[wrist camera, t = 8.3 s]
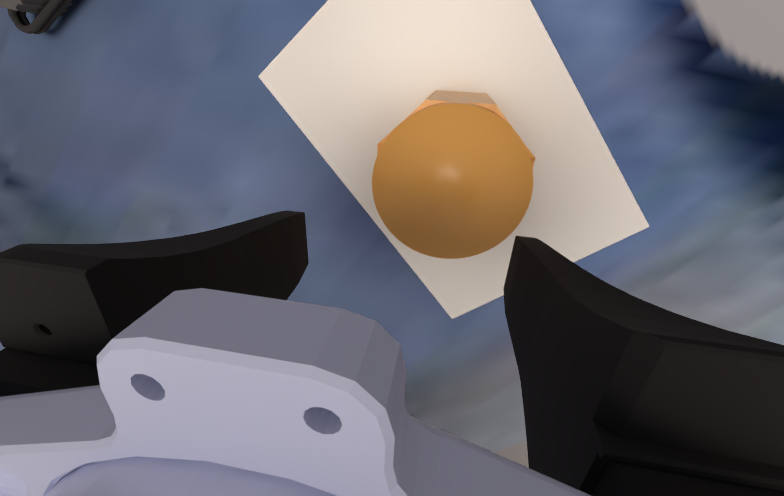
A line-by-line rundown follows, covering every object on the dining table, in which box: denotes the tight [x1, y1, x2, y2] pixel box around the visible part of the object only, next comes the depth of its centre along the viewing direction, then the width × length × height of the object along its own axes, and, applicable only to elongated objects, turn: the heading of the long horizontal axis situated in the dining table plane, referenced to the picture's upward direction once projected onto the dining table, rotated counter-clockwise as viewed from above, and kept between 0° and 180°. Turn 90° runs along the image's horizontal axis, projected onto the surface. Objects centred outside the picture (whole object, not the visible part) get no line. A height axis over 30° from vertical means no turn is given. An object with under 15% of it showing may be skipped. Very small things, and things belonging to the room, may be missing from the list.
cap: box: [372, 90, 536, 259], centre depth 15 cm, size 6×6×6 cm
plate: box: [258, 0, 649, 319], centre depth 17 cm, size 18×12×5 cm, turn 38°
